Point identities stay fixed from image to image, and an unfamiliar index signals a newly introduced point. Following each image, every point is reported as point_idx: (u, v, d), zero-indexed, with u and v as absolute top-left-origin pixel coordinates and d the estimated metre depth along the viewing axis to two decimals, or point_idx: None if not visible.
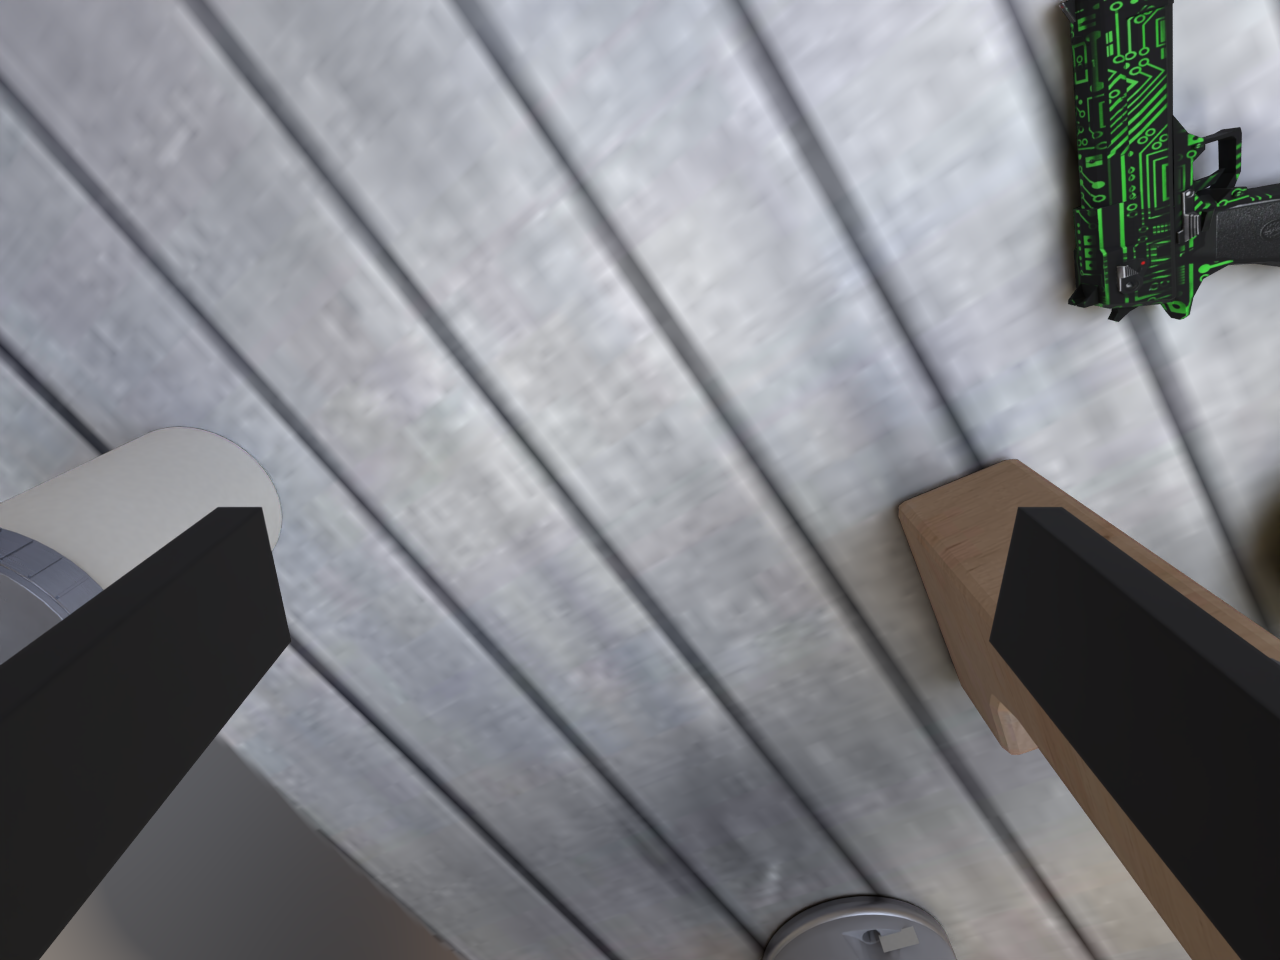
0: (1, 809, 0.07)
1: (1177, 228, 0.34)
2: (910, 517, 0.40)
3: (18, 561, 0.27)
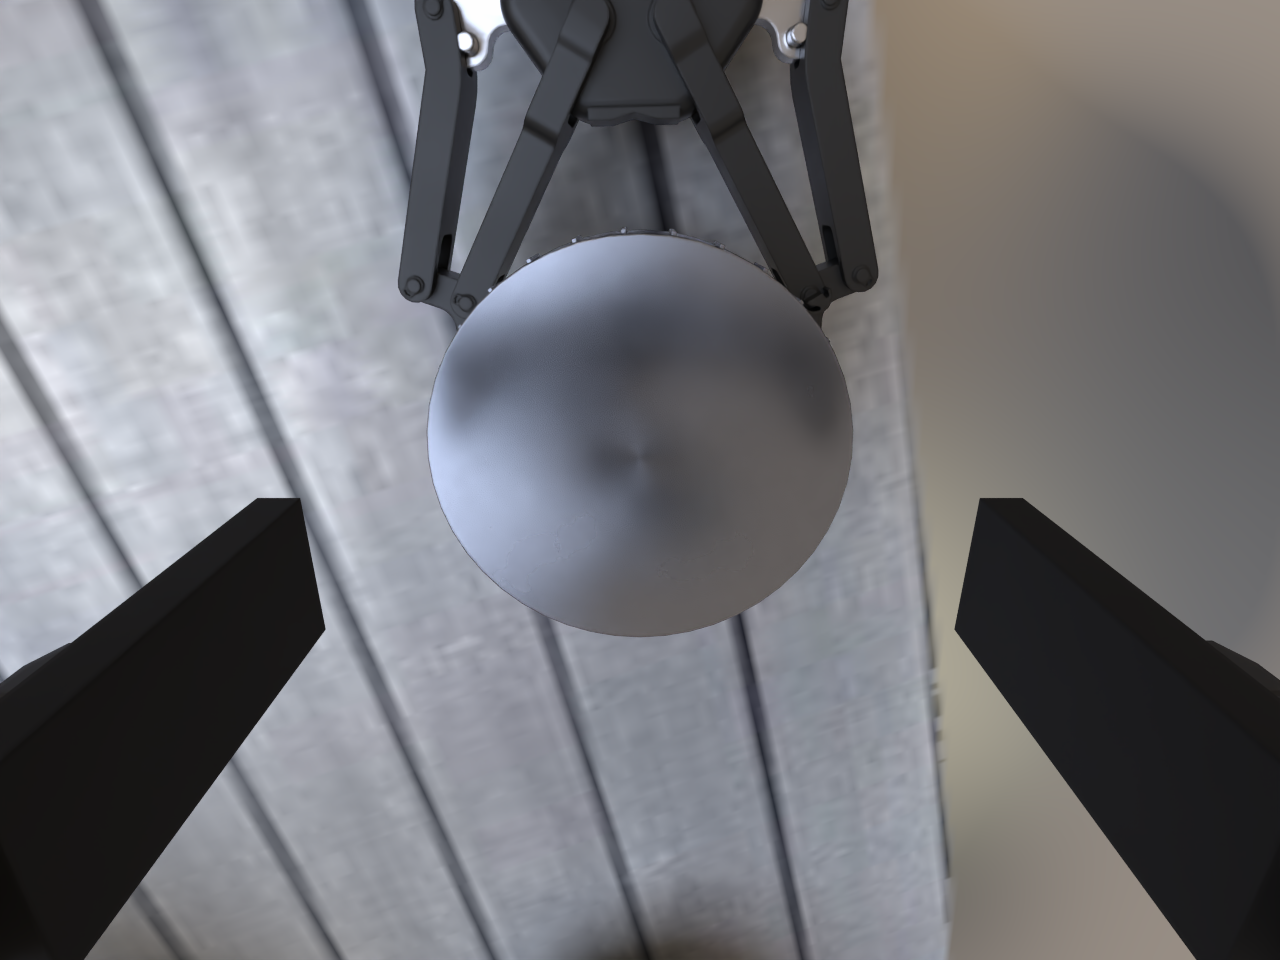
0: (77, 780, 0.07)
1: None
2: None
3: None
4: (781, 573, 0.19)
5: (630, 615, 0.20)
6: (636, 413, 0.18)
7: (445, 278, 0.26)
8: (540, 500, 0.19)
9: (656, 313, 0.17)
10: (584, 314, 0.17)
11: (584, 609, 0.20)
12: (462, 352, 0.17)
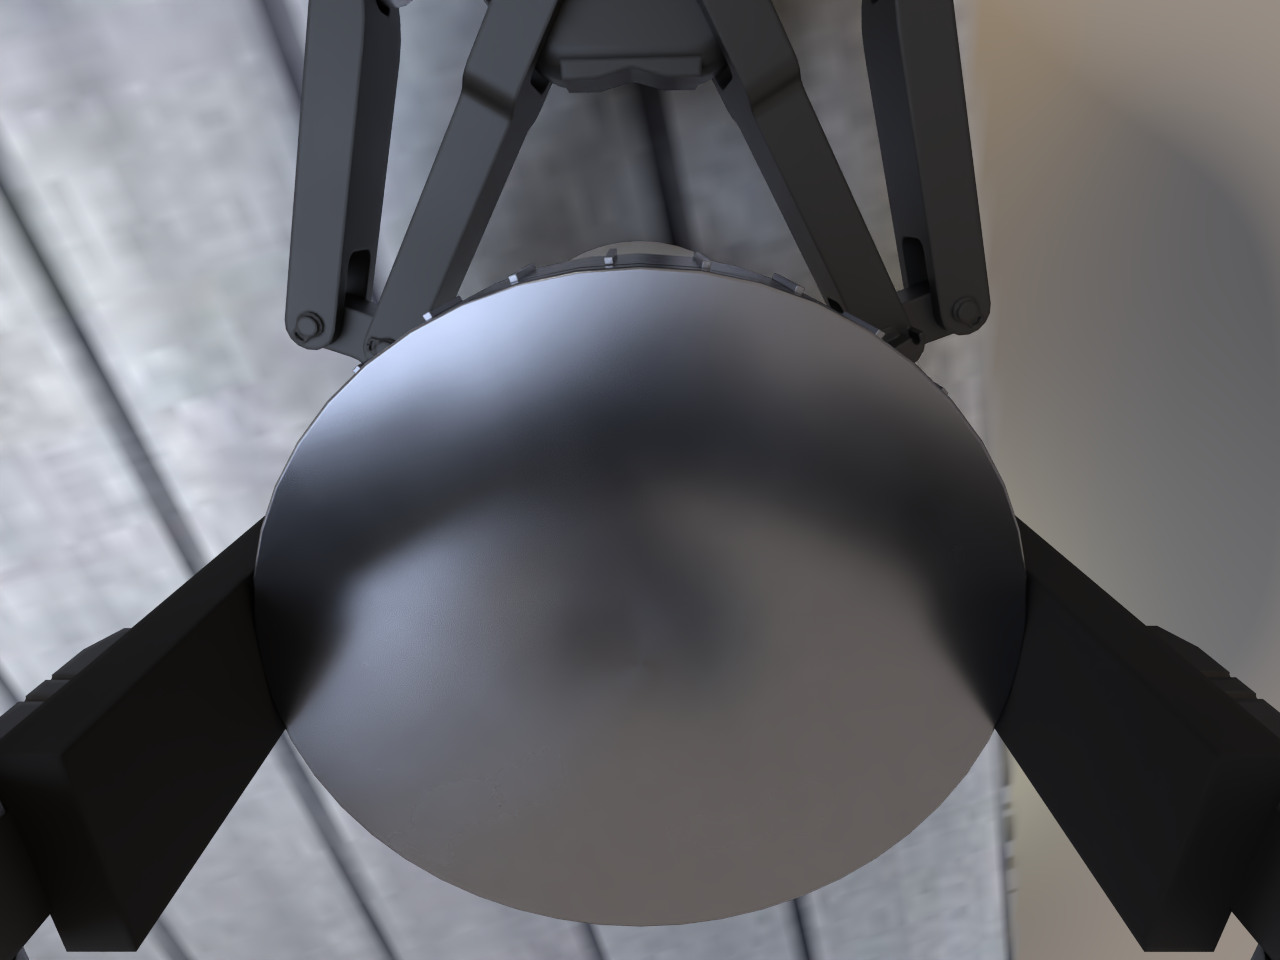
0: (146, 756, 0.08)
1: None
2: None
3: None
4: (881, 837, 0.11)
5: (624, 896, 0.12)
6: (633, 590, 0.10)
7: (356, 314, 0.18)
8: (464, 729, 0.11)
9: (671, 417, 0.09)
10: (533, 419, 0.09)
11: (546, 888, 0.12)
12: (306, 486, 0.09)
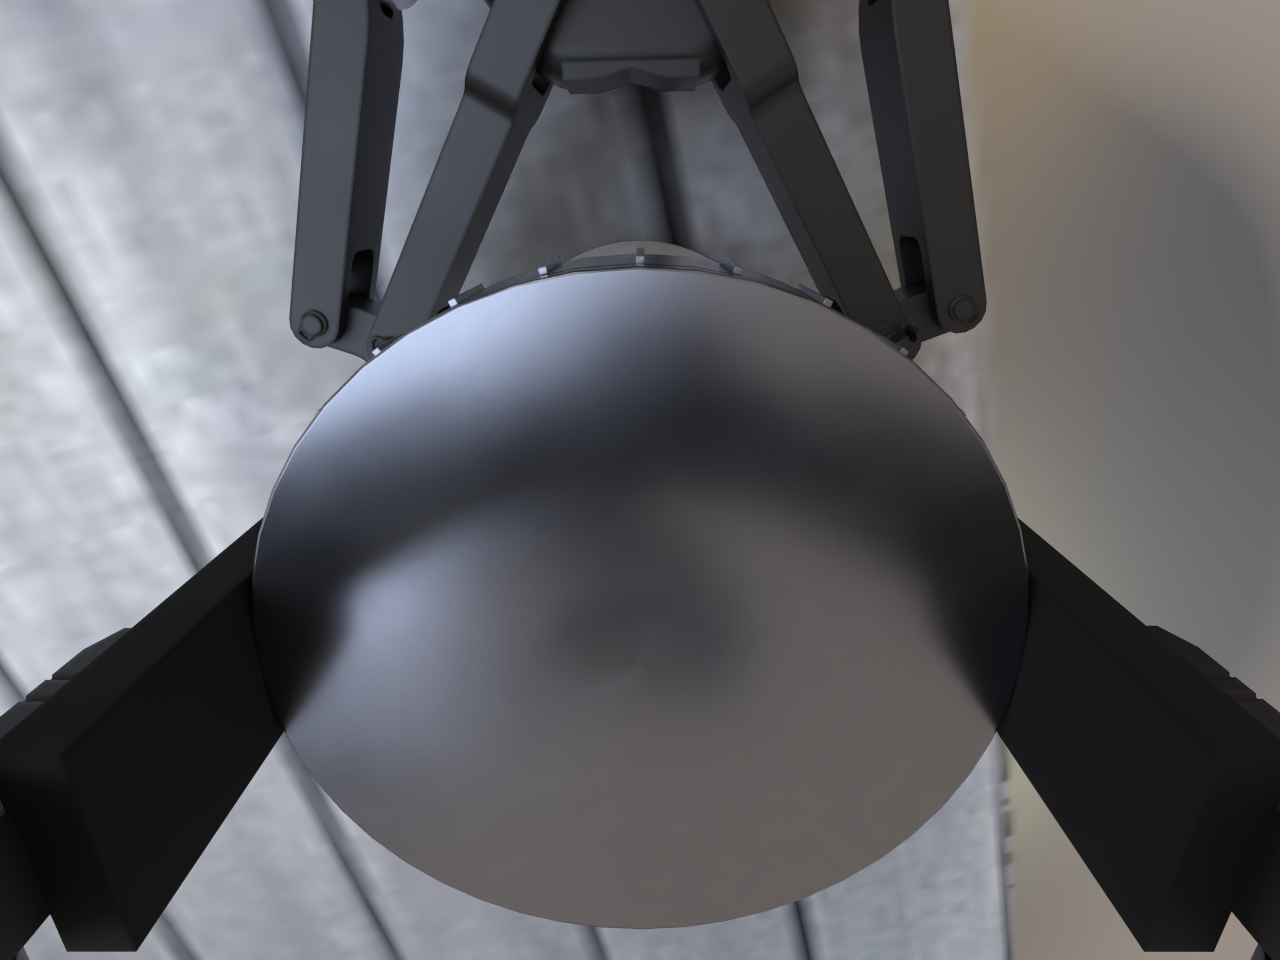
0: (146, 755, 0.08)
1: None
2: None
3: None
4: (947, 434, 0.09)
5: (956, 712, 0.10)
6: (557, 661, 0.10)
7: (360, 313, 0.18)
8: (694, 810, 0.11)
9: (381, 614, 0.10)
10: (384, 713, 0.10)
11: (919, 778, 0.11)
12: (442, 865, 0.12)
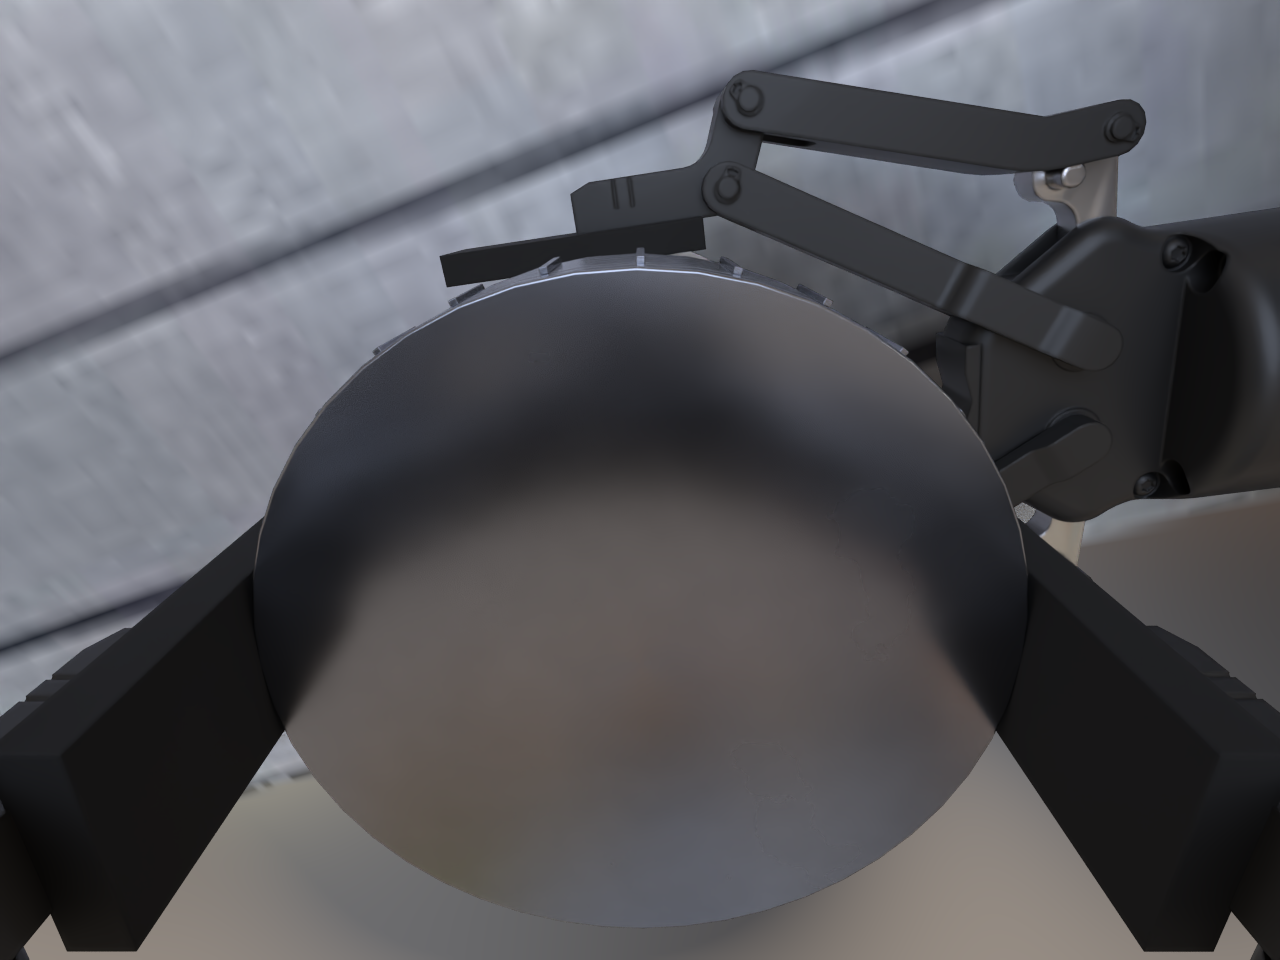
0: (146, 756, 0.08)
1: None
2: None
3: None
4: (947, 434, 0.09)
5: (956, 711, 0.10)
6: (557, 660, 0.10)
7: (756, 147, 0.17)
8: (694, 809, 0.11)
9: (382, 613, 0.10)
10: (384, 713, 0.10)
11: (919, 778, 0.11)
12: (442, 864, 0.12)
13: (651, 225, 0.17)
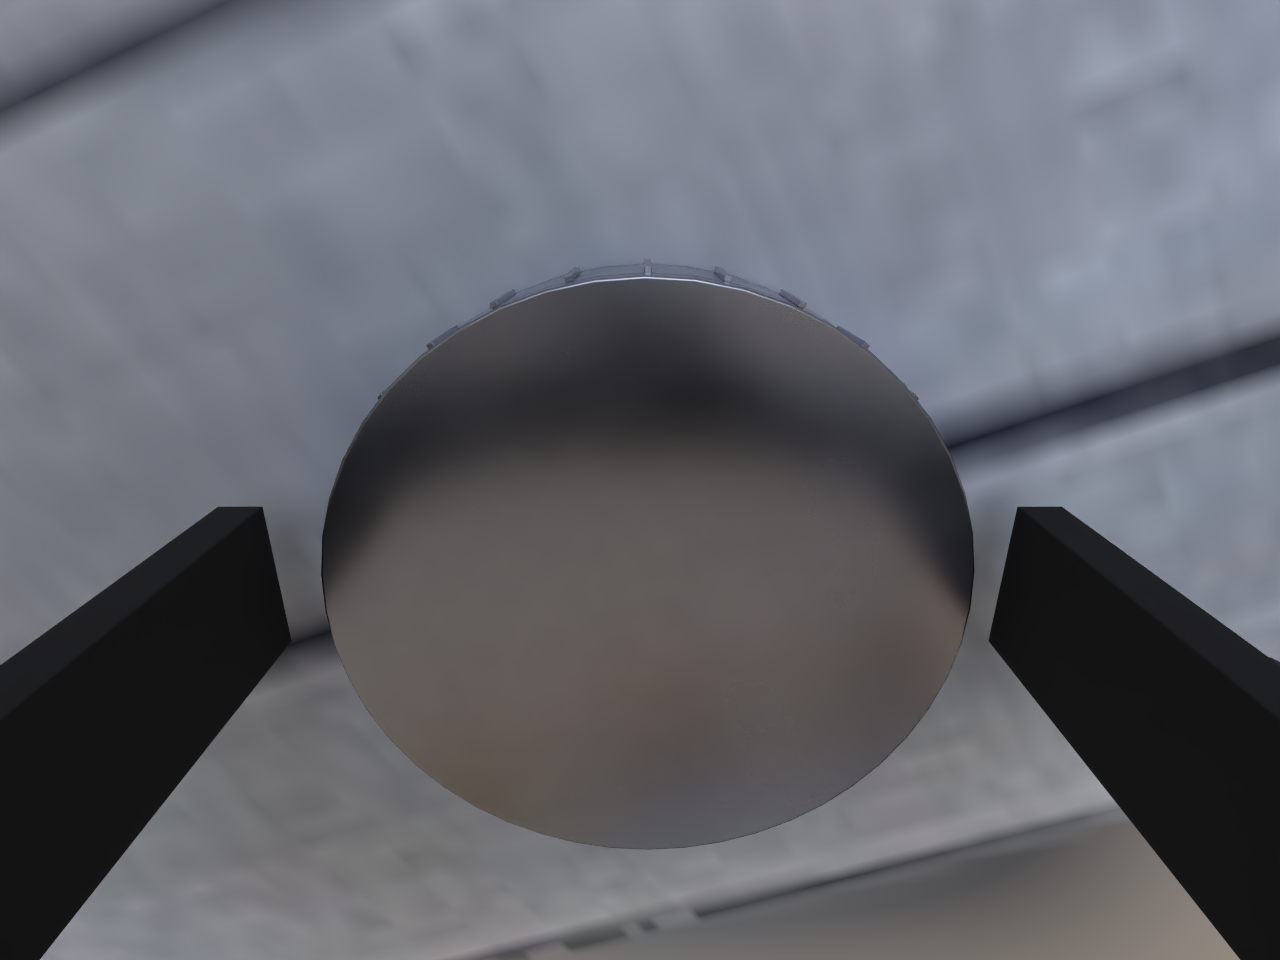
0: (2, 809, 0.07)
1: None
2: None
3: None
4: (901, 413, 0.11)
5: (915, 653, 0.12)
6: (576, 607, 0.12)
7: None
8: (693, 740, 0.13)
9: (430, 565, 0.12)
10: (429, 653, 0.12)
11: (886, 712, 0.13)
12: (475, 790, 0.13)
13: None
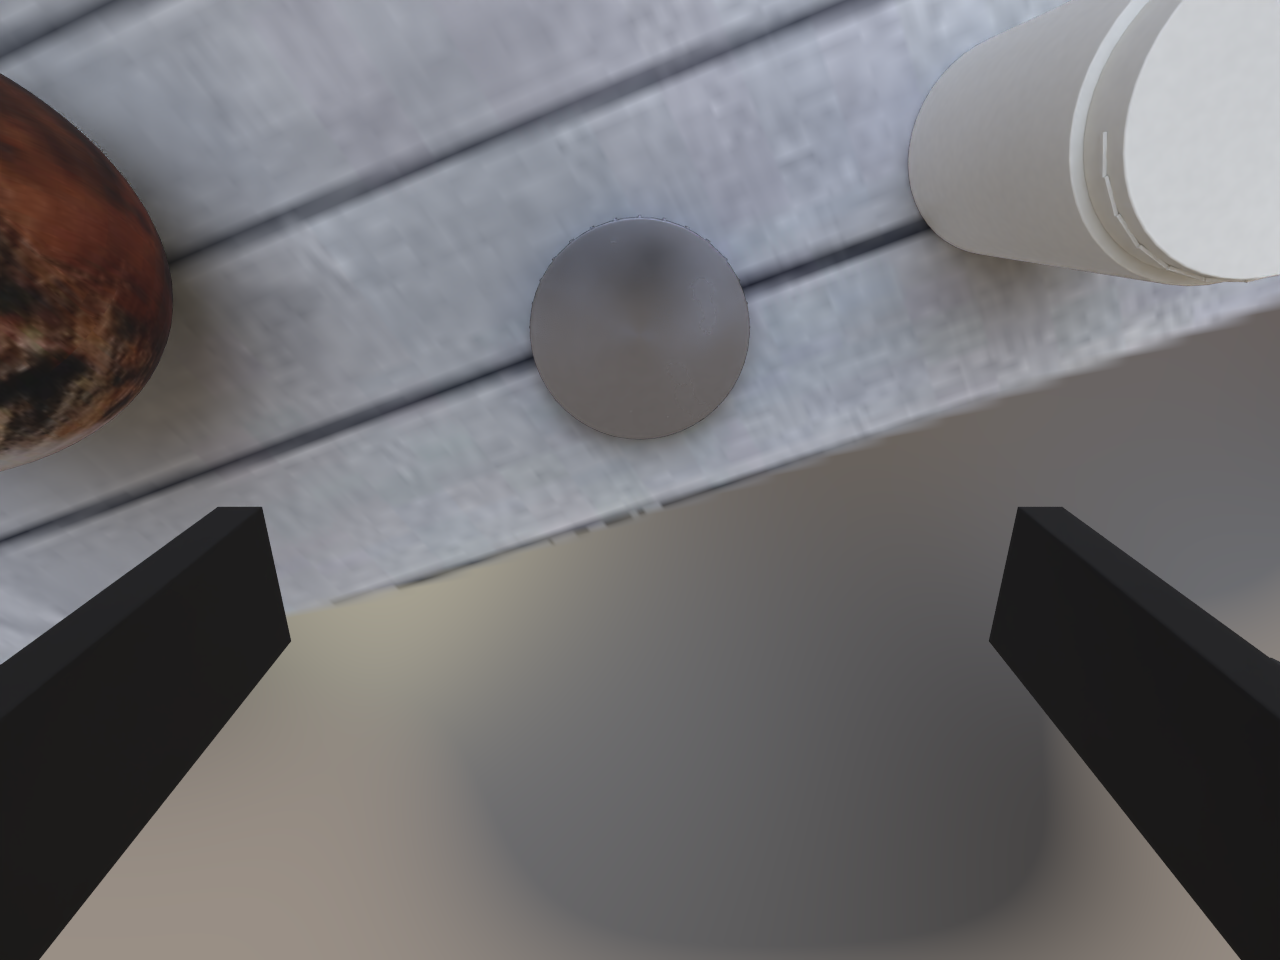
0: (1, 809, 0.07)
1: None
2: None
3: None
4: (719, 262, 0.34)
5: (732, 351, 0.35)
6: (615, 333, 0.35)
7: None
8: (656, 389, 0.36)
9: (567, 317, 0.35)
10: (564, 352, 0.35)
11: (724, 376, 0.36)
12: (577, 411, 0.37)
13: None
